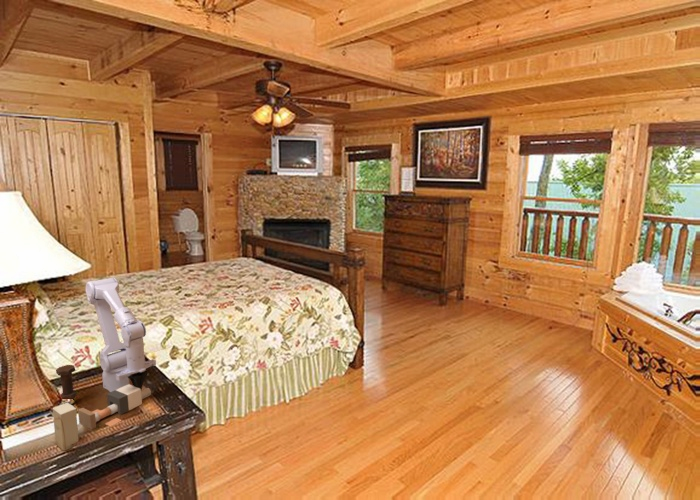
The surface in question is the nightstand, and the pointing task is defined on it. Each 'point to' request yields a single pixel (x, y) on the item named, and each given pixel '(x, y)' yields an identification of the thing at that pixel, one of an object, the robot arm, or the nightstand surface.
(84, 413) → the pipe clamp
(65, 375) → the bolt
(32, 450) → the nightstand surface
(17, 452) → the nightstand surface
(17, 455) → the nightstand surface
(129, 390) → the sleeve
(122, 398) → the dark grey block
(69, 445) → the skincare box
